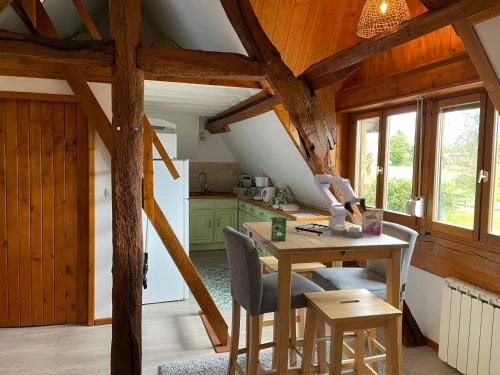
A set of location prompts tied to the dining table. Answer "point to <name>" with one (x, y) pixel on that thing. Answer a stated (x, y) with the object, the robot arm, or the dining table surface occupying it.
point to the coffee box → (278, 229)
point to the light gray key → (354, 229)
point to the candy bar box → (372, 221)
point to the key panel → (347, 234)
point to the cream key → (339, 227)
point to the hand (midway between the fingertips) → (359, 212)
